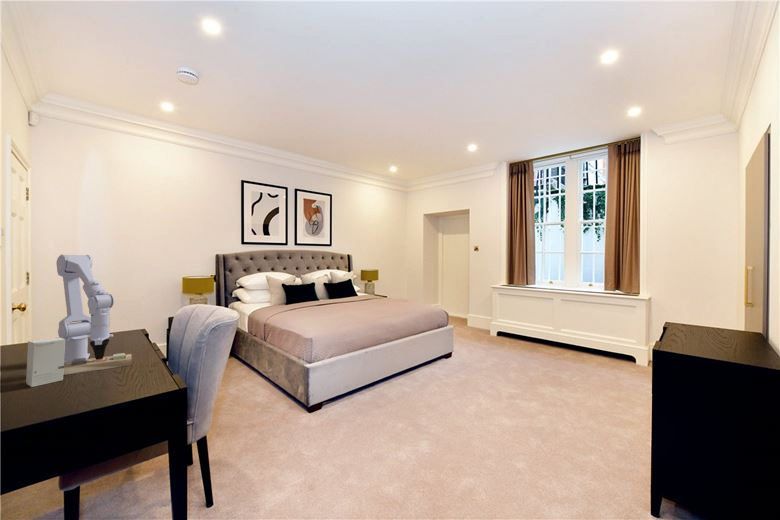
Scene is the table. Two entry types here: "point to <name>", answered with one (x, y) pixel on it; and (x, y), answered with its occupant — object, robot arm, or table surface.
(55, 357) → the skincare box
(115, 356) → the key sage
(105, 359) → the key terracotta
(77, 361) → the key charcoal
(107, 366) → the keypad
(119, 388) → the table surface
